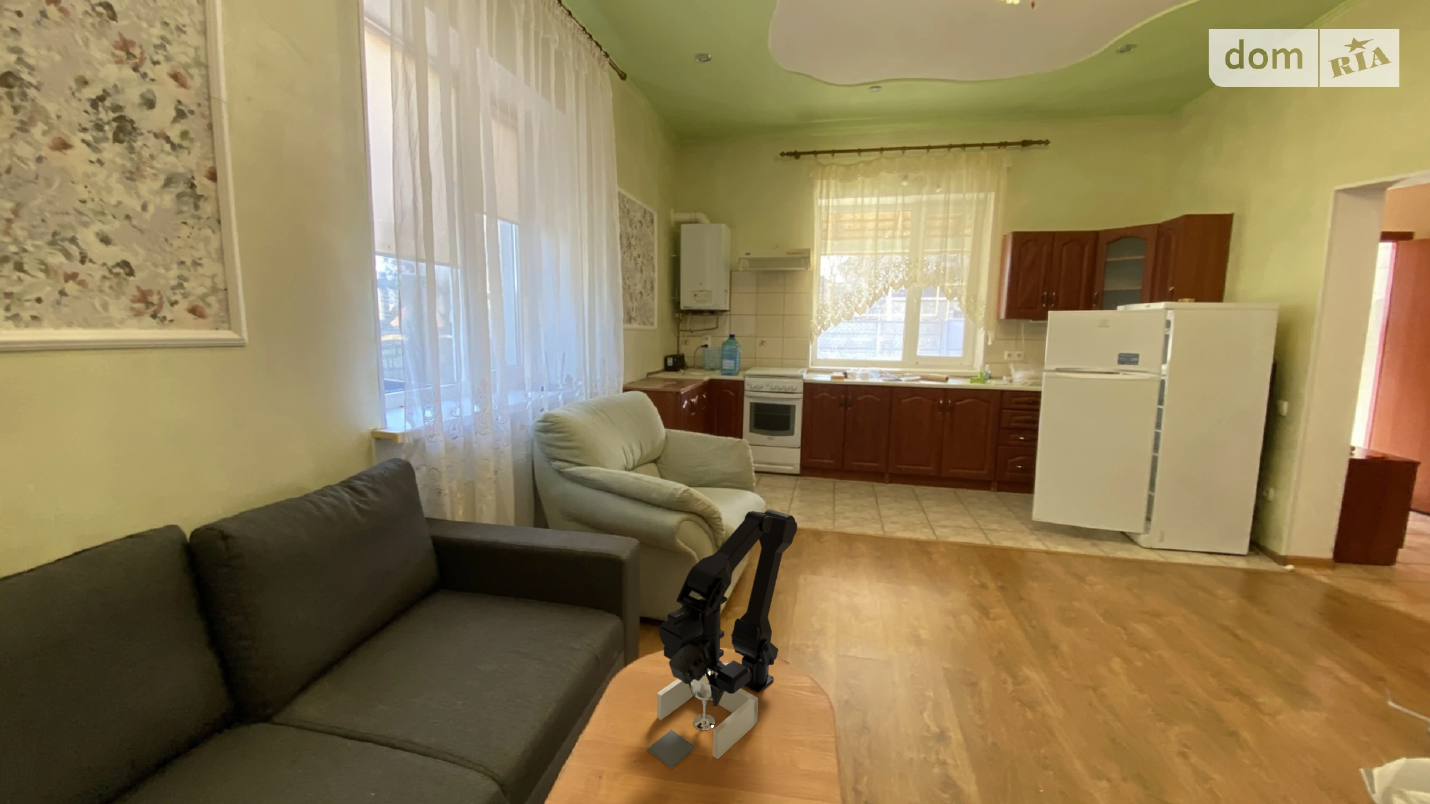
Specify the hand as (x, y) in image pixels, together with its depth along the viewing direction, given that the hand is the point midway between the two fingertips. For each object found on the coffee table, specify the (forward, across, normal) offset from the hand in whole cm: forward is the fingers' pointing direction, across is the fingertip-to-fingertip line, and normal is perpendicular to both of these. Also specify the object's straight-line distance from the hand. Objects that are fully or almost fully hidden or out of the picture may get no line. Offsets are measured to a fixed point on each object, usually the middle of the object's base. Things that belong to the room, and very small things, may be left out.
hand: (704, 699), depth 110 cm
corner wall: (+5, 0, +1) cm, 5 cm away
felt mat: (+5, 0, -10) cm, 11 cm away
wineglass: (+5, 0, 0) cm, 5 cm away
